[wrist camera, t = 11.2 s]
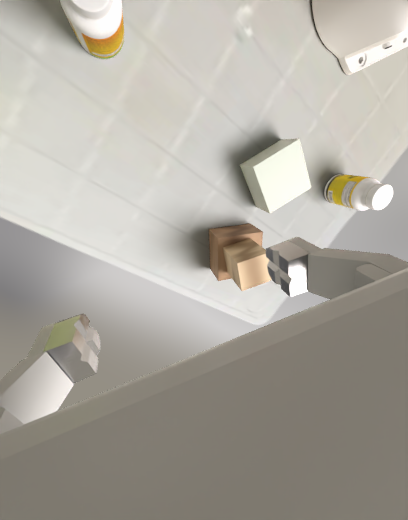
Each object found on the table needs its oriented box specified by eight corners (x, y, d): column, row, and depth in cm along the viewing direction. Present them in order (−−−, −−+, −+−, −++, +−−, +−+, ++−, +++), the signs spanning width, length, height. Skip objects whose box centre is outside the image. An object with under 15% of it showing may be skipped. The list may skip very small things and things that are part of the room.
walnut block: (249, 223, 43) (262, 231, 39) (247, 261, 46) (259, 273, 42) (208, 228, 41) (217, 238, 37) (209, 268, 45) (218, 280, 40)
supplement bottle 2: (351, 179, 45) (403, 186, 36) (337, 206, 46) (382, 219, 38) (332, 169, 43) (382, 174, 34) (318, 197, 44) (362, 209, 36)
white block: (280, 139, 38) (299, 138, 33) (292, 183, 42) (311, 187, 38) (239, 164, 38) (253, 167, 33) (255, 206, 42) (269, 213, 37)
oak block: (250, 238, 38) (268, 252, 33) (253, 263, 41) (271, 280, 36) (222, 247, 38) (237, 263, 33) (227, 272, 40) (241, 291, 35)
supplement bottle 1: (133, 32, 27) (134, -19, 19) (107, 72, 28) (98, 41, 20) (90, -17, 25) (69, -101, 16) (63, 29, 26) (30, -28, 17)
